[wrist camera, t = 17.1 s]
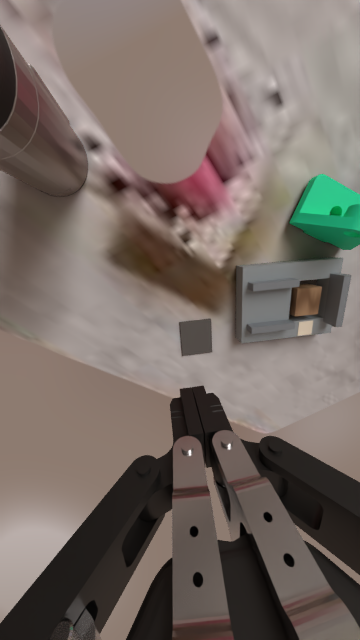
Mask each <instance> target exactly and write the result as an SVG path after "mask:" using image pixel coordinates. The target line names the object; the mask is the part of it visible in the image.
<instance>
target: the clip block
mask: <svg viewBox="0 0 360 640" xmlns="http://www.w3.org/2000/svg"><path fill="white" fill-rule="evenodd" d="M321 291H322V287H320V286H316V285H312V284H300V285H299V287H292V290H291V301H290V311H289V314H291V315H293V316H304V315H314V314H318V310H319V304H320V297H321Z"/></svg>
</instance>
